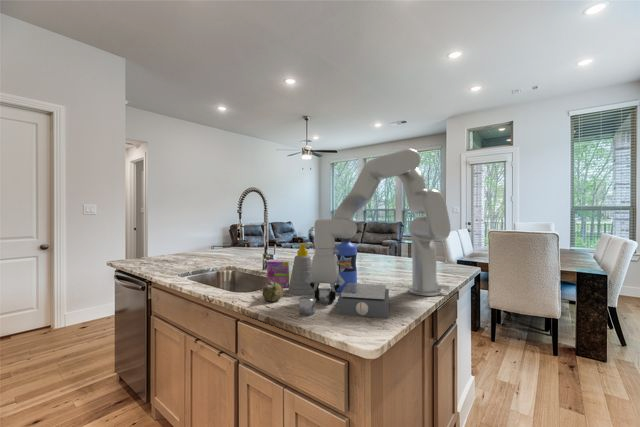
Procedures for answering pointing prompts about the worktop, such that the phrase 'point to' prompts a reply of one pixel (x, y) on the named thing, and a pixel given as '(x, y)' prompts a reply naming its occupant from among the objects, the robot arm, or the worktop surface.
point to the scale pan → (364, 291)
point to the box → (279, 272)
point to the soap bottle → (301, 273)
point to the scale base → (364, 306)
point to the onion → (272, 291)
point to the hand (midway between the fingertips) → (325, 300)
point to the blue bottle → (346, 262)
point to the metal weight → (324, 295)
